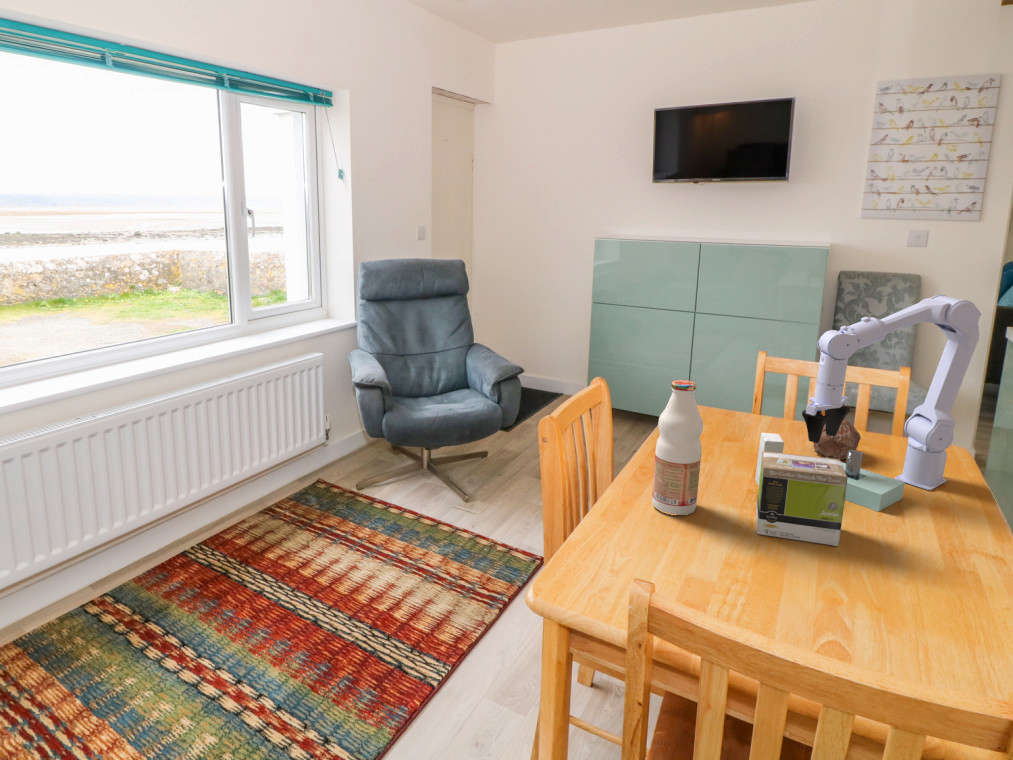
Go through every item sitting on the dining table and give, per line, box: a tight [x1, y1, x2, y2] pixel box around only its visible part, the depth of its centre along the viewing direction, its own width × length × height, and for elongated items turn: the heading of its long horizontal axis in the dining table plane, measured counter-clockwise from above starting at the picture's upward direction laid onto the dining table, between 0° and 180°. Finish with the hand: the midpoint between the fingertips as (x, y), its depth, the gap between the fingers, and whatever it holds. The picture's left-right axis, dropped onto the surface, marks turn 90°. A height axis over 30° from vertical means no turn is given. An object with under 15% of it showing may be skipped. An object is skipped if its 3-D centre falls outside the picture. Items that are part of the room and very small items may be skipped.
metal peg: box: [845, 449, 863, 480], centre depth 150 cm, size 3×3×10 cm
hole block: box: [841, 461, 906, 512], centre depth 151 cm, size 11×18×4 cm, turn 36°
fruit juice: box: [651, 379, 704, 516], centre depth 139 cm, size 9×9×28 cm
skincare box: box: [754, 432, 785, 488], centre depth 153 cm, size 6×4×12 cm
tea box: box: [756, 451, 848, 547], centre depth 131 cm, size 15×10×15 cm
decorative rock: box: [812, 418, 862, 461], centre depth 172 cm, size 13×11×10 cm
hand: (822, 438), depth 155 cm, fingers open, 7 cm apart
